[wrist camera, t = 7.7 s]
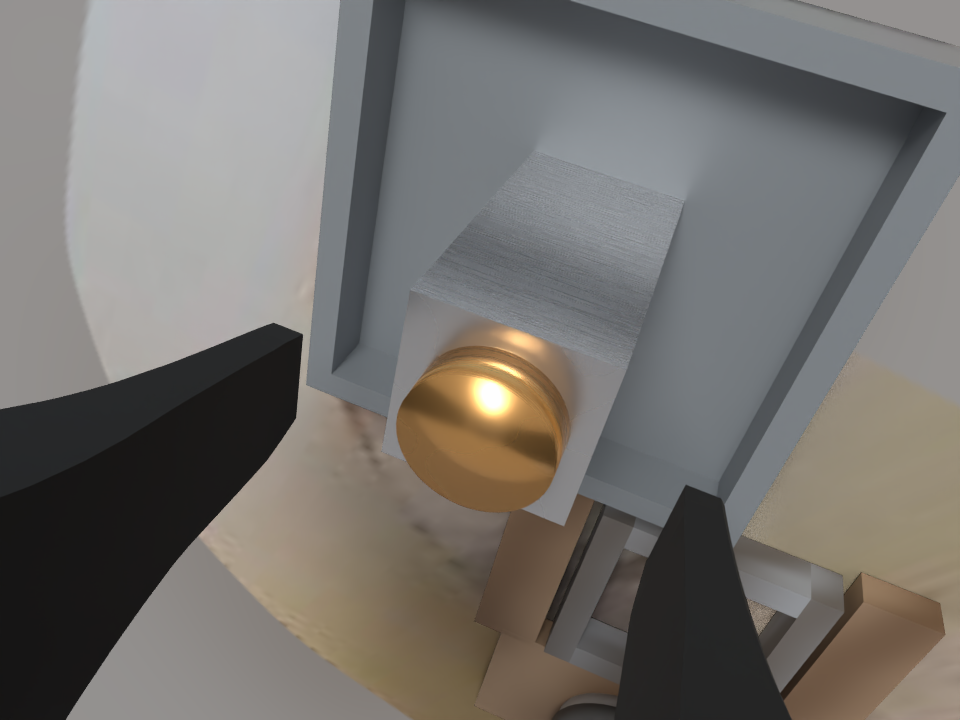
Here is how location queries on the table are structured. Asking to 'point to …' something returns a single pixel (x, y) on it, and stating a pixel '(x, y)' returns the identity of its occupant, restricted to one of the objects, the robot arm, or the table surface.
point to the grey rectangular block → (527, 337)
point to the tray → (657, 166)
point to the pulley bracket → (600, 648)
